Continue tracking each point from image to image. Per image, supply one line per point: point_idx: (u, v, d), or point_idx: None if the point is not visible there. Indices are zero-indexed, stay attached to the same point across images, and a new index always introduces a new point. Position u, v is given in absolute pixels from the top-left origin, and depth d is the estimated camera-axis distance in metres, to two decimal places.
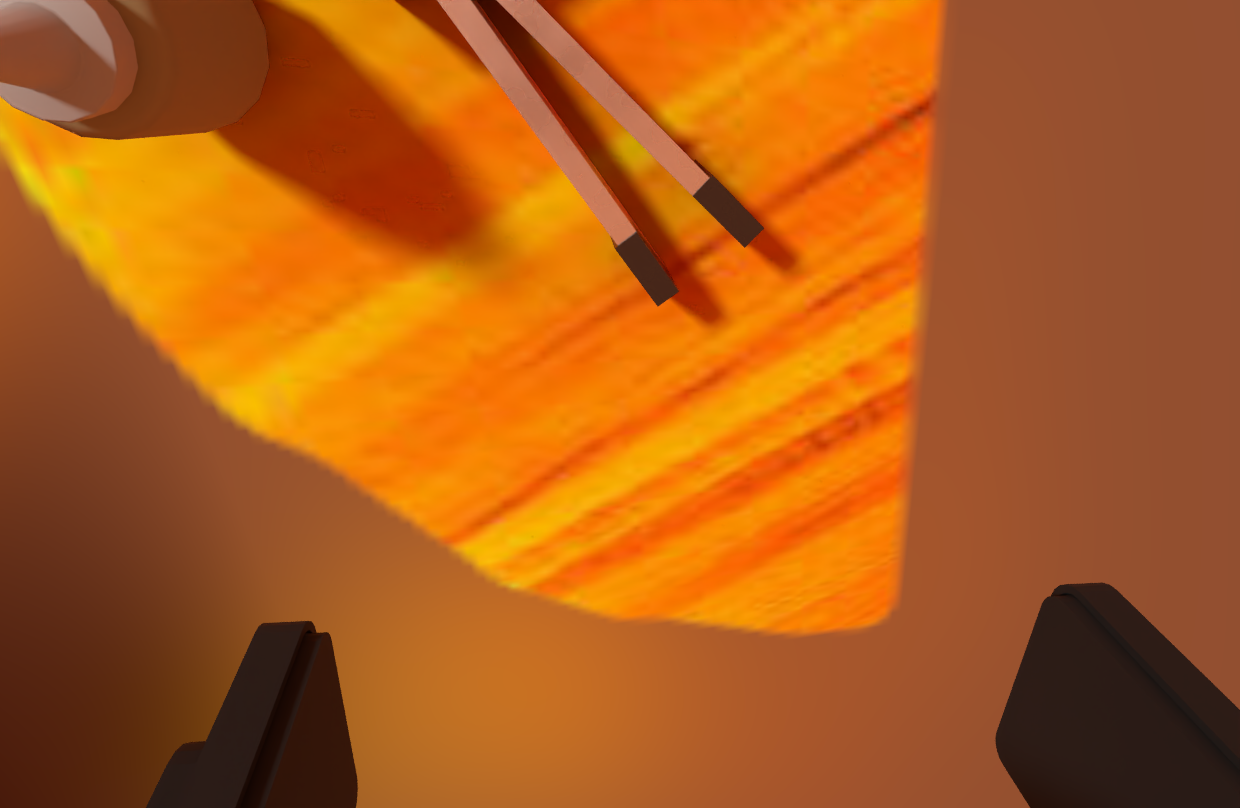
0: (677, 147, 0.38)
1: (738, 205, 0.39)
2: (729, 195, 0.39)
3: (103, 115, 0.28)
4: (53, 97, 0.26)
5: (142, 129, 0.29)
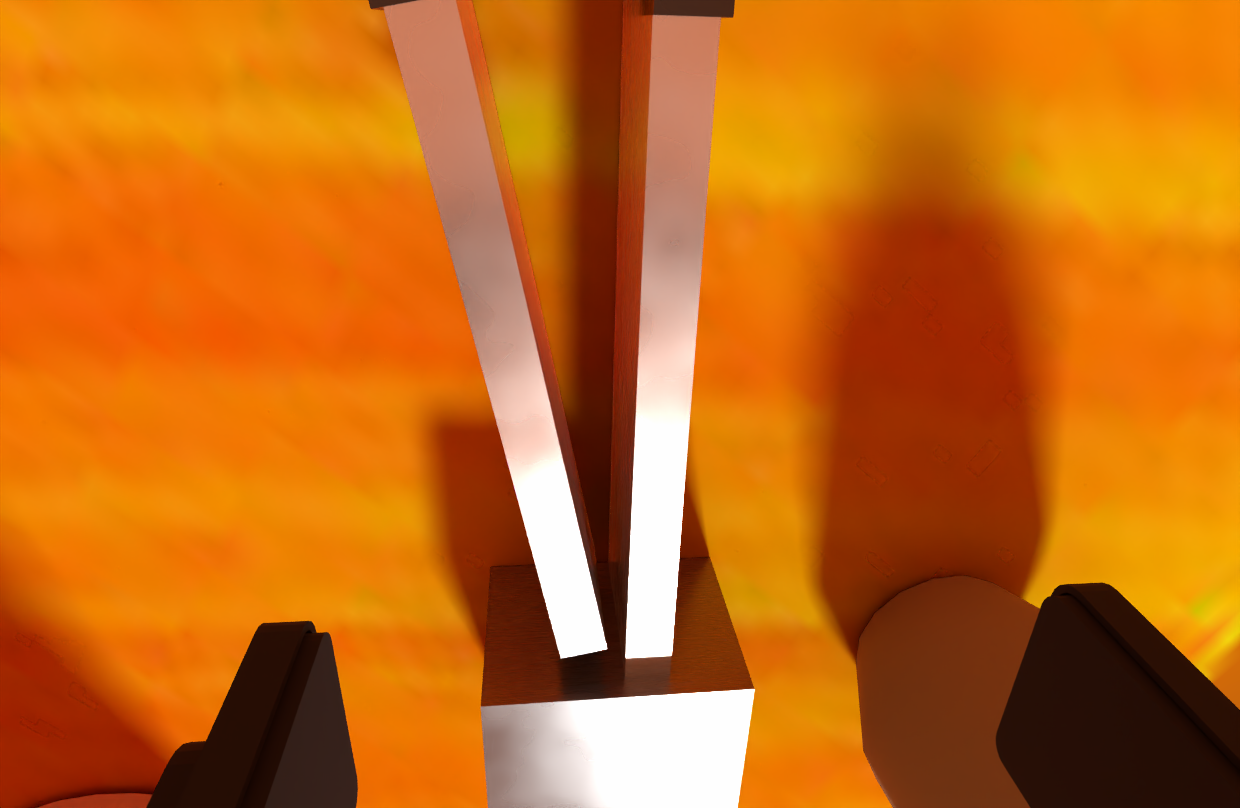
0: (425, 146, 0.14)
1: None
2: None
3: None
4: None
5: None
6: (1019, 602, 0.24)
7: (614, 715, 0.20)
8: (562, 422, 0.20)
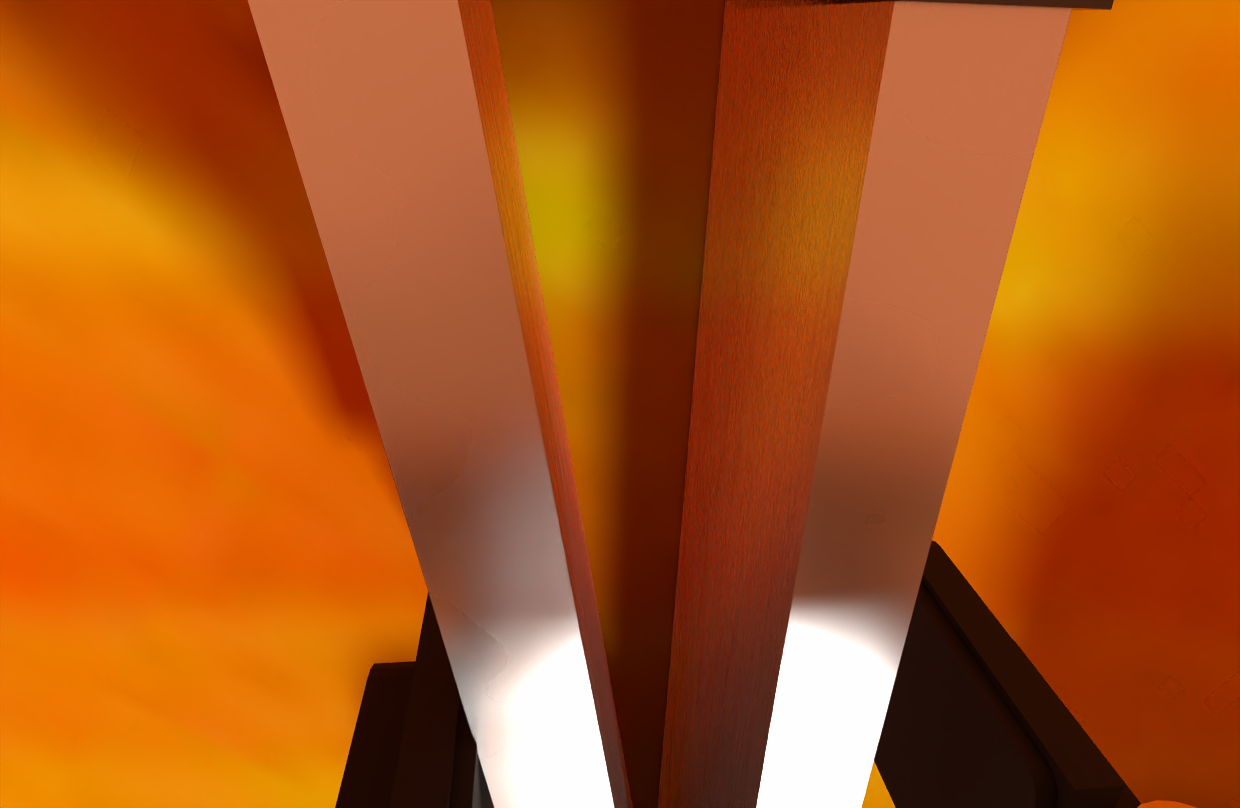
0: (354, 318, 0.05)
1: None
2: None
3: None
4: None
5: None
6: None
7: None
8: (611, 718, 0.11)
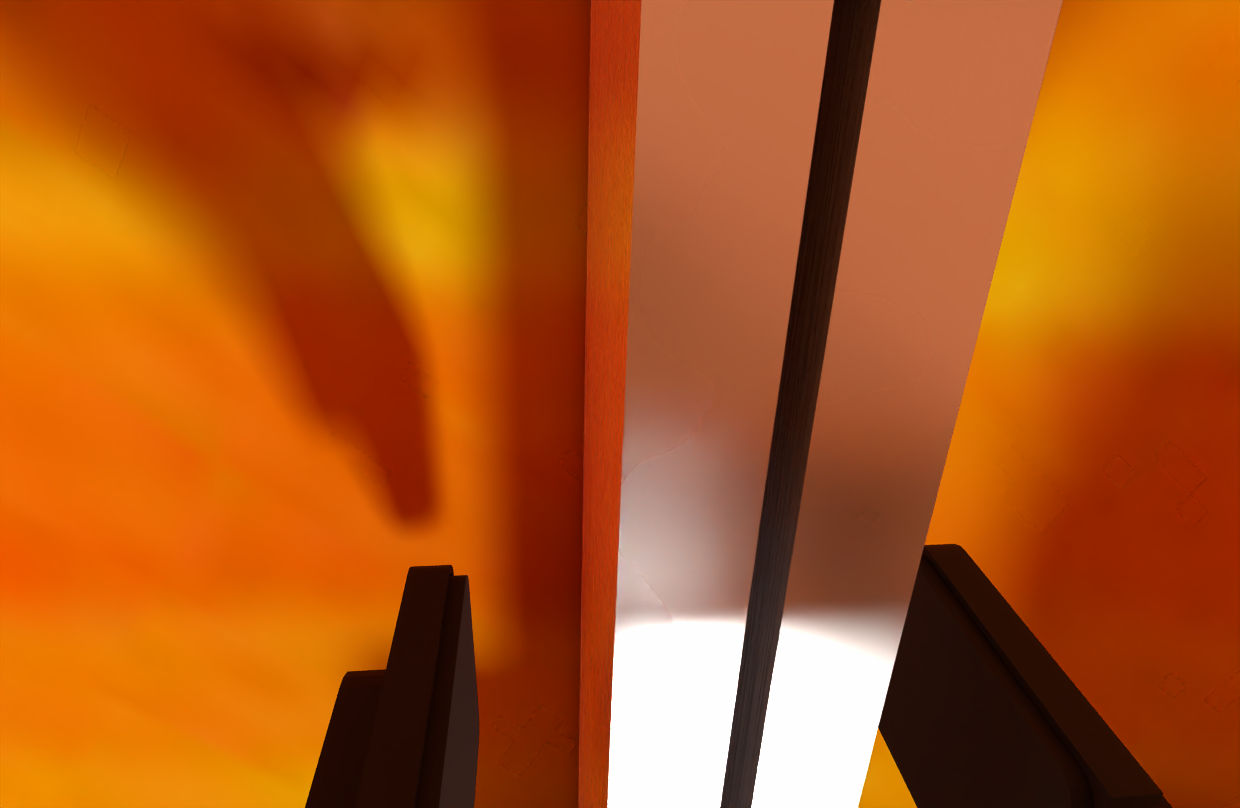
0: (640, 265, 0.05)
1: None
2: None
3: None
4: None
5: None
6: None
7: None
8: None
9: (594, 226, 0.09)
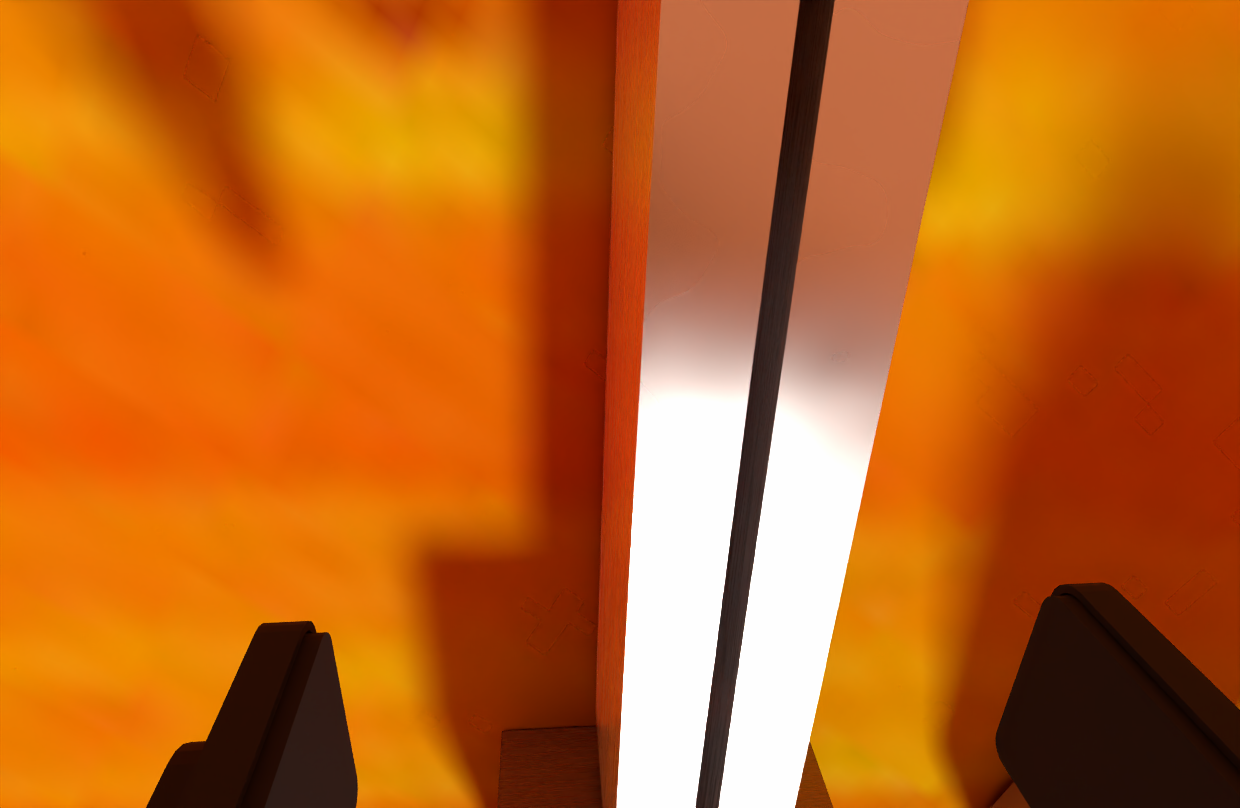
0: (661, 137, 0.07)
1: None
2: None
3: None
4: None
5: None
6: None
7: None
8: None
9: (620, 138, 0.10)
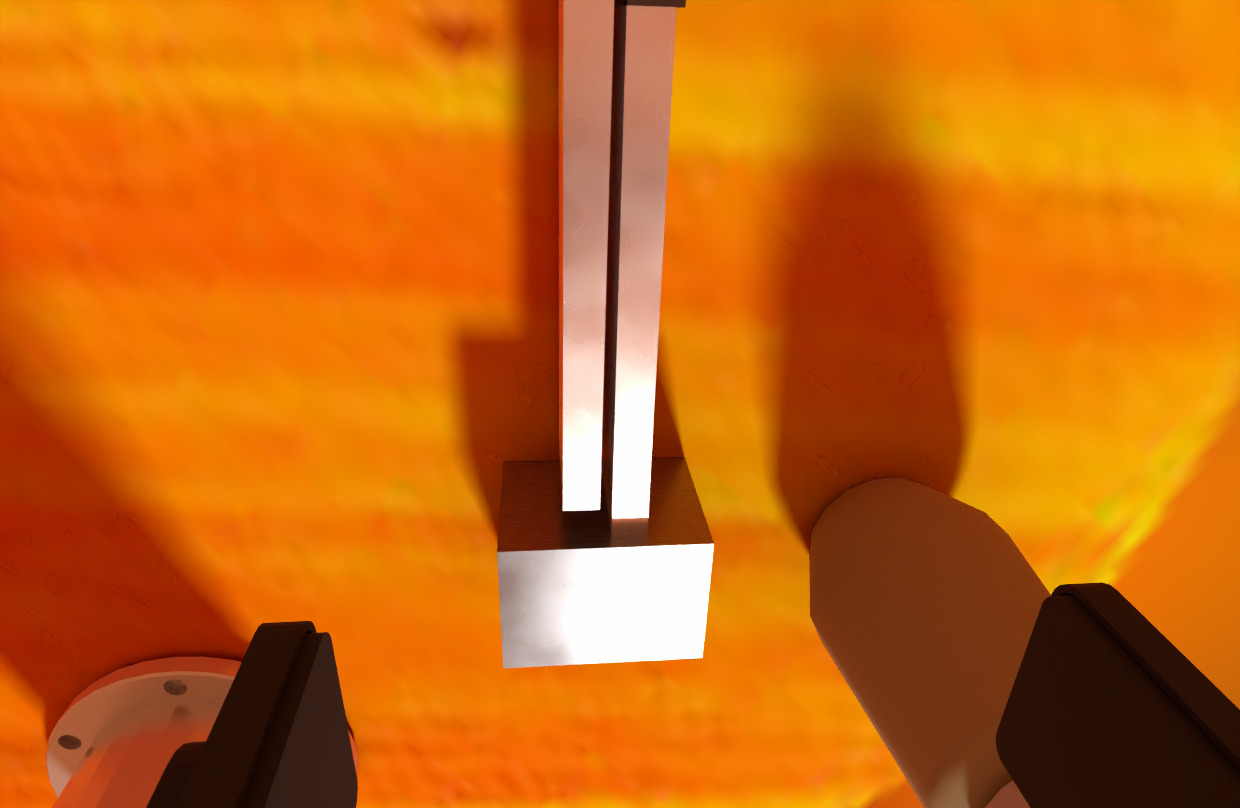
0: (566, 83, 0.19)
1: None
2: None
3: None
4: None
5: None
6: (940, 494, 0.29)
7: (602, 563, 0.25)
8: None
9: (559, 94, 0.22)
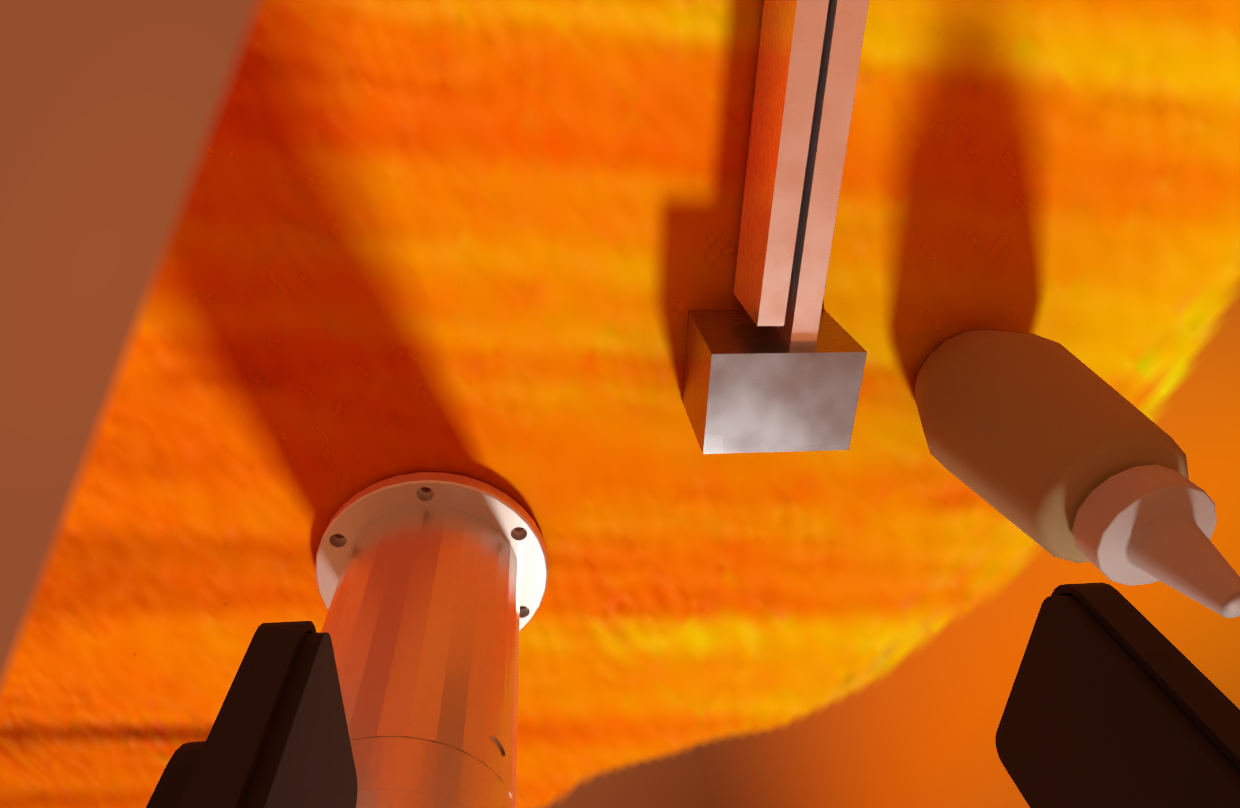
0: None
1: None
2: None
3: (1162, 462, 0.30)
4: (1192, 512, 0.28)
5: (1150, 432, 0.30)
6: None
7: (785, 365, 0.34)
8: None
9: (770, 14, 0.31)
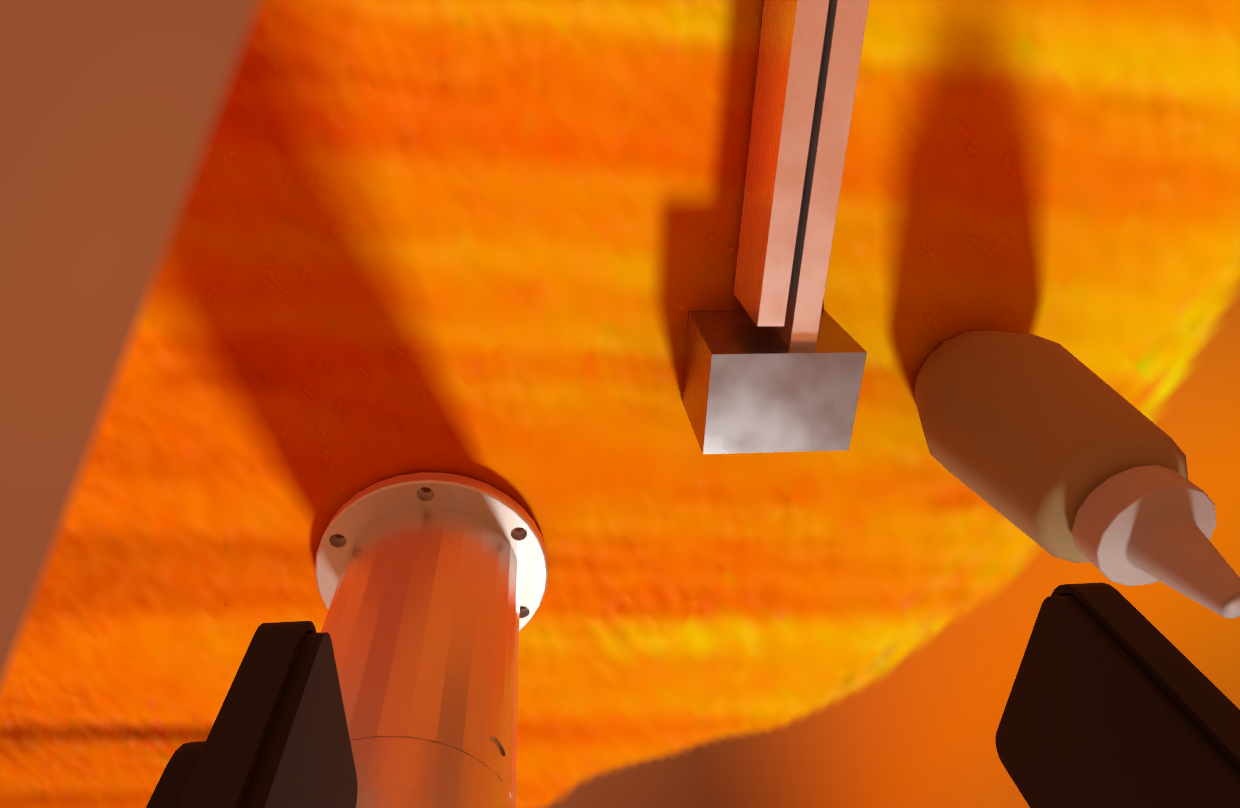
0: None
1: None
2: None
3: (1162, 462, 0.30)
4: (1192, 512, 0.28)
5: (1150, 433, 0.30)
6: None
7: (785, 366, 0.34)
8: None
9: (770, 14, 0.31)
